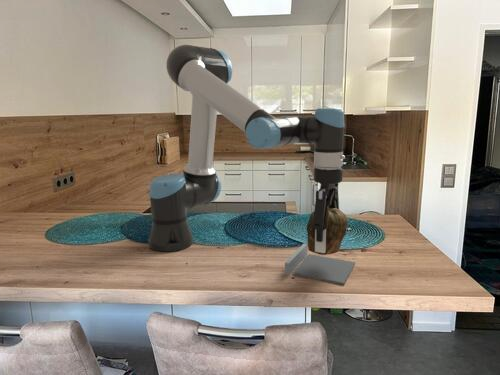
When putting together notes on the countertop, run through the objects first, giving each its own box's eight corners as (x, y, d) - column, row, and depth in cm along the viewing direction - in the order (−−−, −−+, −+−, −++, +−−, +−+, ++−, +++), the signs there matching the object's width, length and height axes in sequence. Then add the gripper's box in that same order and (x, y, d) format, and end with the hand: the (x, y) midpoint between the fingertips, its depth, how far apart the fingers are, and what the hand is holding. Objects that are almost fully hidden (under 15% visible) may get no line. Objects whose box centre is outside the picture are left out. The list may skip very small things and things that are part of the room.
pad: (293, 274, 99) (293, 272, 99) (309, 255, 111) (309, 254, 111) (344, 285, 93) (344, 282, 93) (355, 264, 105) (355, 262, 105)
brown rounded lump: (347, 258, 94) (349, 215, 92) (305, 256, 96) (306, 213, 94) (345, 243, 105) (346, 203, 102) (307, 241, 107) (307, 202, 104)
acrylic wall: (284, 274, 99) (284, 262, 98) (303, 253, 113) (303, 243, 112) (288, 275, 99) (288, 263, 98) (307, 254, 112) (307, 243, 112)
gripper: (330, 175, 84) (328, 263, 88) (351, 161, 104) (348, 233, 109) (300, 173, 87) (299, 257, 92) (326, 160, 107) (324, 230, 112)
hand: (326, 244), depth 100 cm, fingers closed on brown rounded lump, 11 cm apart
